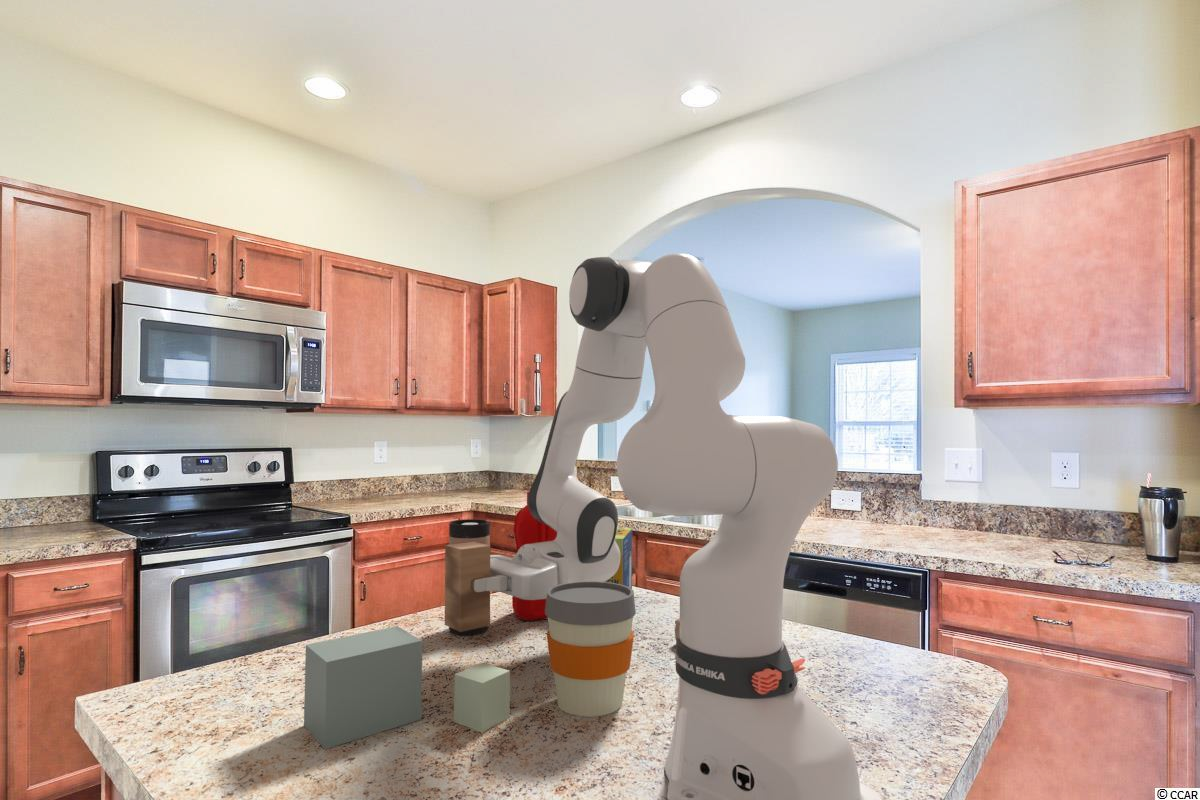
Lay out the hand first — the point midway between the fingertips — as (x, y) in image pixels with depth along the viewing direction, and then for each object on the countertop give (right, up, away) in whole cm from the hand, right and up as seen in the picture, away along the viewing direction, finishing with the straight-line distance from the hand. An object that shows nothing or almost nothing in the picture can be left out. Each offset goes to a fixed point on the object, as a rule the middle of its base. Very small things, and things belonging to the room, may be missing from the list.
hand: (462, 582), depth 98 cm
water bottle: (+8, -16, +31) cm, 36 cm away
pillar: (+1, -7, 0) cm, 7 cm away
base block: (-9, -13, -16) cm, 23 cm away
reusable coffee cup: (+20, -14, -10) cm, 26 cm away
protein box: (+22, -16, +40) cm, 48 cm away
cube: (+6, -14, -15) cm, 21 cm away
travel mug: (-4, -15, +22) cm, 27 cm away
